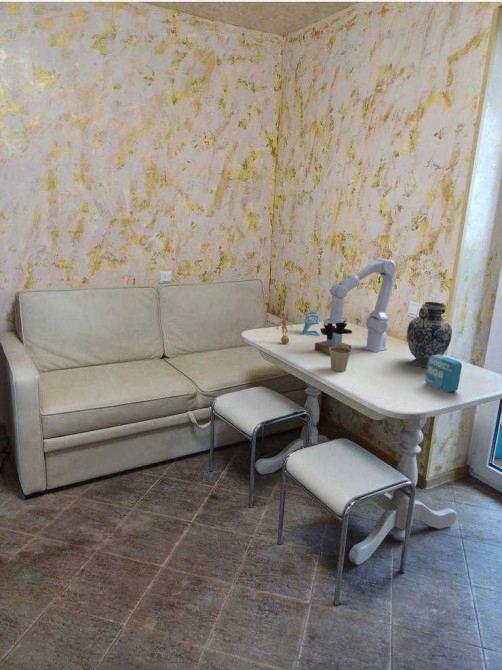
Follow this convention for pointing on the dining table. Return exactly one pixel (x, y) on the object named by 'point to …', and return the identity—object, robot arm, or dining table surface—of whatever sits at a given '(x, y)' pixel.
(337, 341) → the slate cube
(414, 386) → the dining table surface
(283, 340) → the figurine
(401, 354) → the dining table surface
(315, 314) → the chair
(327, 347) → the walnut base block
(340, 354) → the flower pot
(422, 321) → the decorative vase
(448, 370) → the data package
